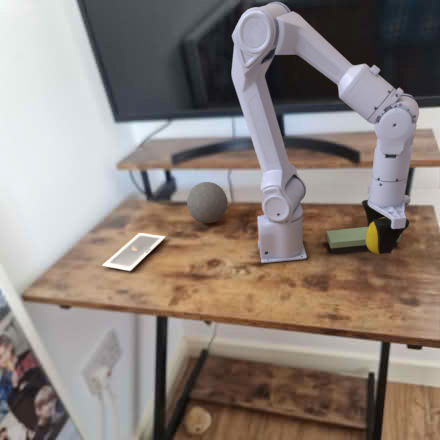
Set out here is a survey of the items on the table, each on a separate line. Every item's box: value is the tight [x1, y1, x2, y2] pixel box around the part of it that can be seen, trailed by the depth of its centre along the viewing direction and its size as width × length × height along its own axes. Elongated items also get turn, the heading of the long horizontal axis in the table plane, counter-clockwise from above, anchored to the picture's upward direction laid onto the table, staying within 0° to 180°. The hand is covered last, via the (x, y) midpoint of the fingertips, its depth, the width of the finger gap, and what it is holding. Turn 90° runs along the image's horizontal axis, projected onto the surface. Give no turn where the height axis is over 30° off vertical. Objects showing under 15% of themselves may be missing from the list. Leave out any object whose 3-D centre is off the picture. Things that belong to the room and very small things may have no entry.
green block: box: [325, 226, 402, 255], centre depth 85 cm, size 14×5×3 cm, turn 90°
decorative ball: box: [186, 181, 228, 224], centre depth 100 cm, size 10×10×10 cm
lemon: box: [365, 217, 385, 256], centre depth 76 cm, size 6×6×8 cm
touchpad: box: [101, 232, 167, 272], centre depth 93 cm, size 8×15×2 cm, turn 155°
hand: (379, 244), depth 77 cm, fingers closed on lemon, 5 cm apart
